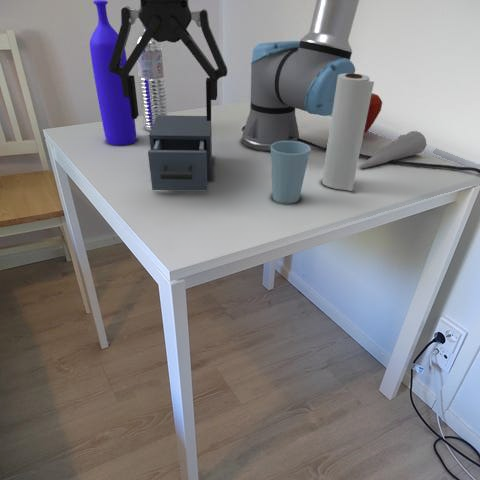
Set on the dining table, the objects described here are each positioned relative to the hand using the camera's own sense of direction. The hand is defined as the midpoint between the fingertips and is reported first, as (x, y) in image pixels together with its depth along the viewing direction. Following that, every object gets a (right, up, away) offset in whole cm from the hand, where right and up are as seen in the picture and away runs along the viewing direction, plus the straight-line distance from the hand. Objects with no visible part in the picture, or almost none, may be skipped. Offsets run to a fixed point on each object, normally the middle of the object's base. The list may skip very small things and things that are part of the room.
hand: (172, 118), depth 79 cm
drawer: (0, -8, +13) cm, 15 cm away
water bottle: (-11, +18, +44) cm, 48 cm away
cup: (+22, -12, +10) cm, 27 cm away
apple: (+46, +15, +43) cm, 64 cm away
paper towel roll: (+34, -7, +16) cm, 38 cm away
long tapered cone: (+50, +2, +27) cm, 57 cm away
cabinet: (0, -2, +21) cm, 21 cm away
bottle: (-19, +10, +35) cm, 41 cm away
